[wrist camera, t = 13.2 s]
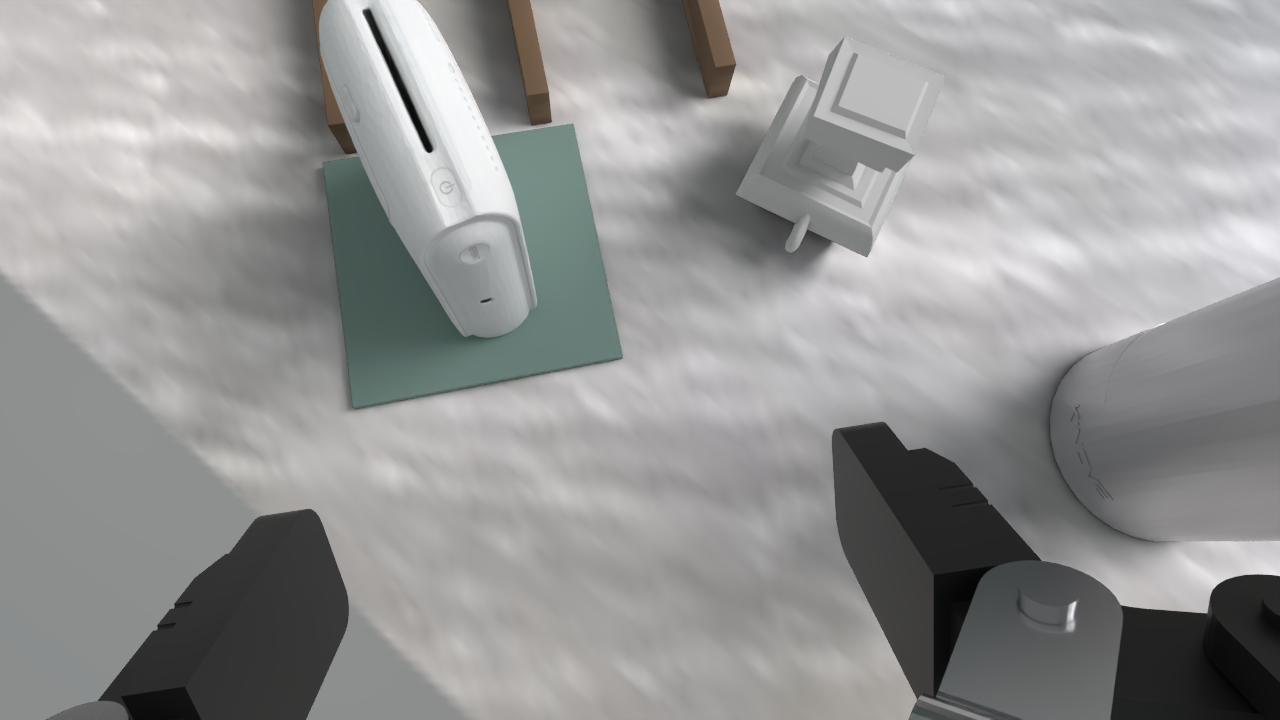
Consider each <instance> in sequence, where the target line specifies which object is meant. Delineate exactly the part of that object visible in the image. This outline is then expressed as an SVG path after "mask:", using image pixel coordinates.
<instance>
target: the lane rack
mask: <svg viewBox="0 0 1280 720" xmlns="http://www.w3.org/2000/svg"><path fill="white" fill-rule="evenodd" d="M327 1H328V0H312V3H313V11H314V19H315V27H316V35H317V43H318V51H319V59H320V67H321V74H322V82H323V90H324V98H325V106H326V114H327V122H328V126H329V128H330V129H331V131H332V133H333V134H334V136H335V137H336V139H337V141H338V142H339V144H340V145H341V147H342V149H343V150H344V152H345V153H346V154H348V153H355V152H357V151H356V148H355V146H354V144H353V141H352V139H351V136H350V134H349V131H348V129H347V127H346V124H345V122H344V119H343V117H342V114H341V112H340V109H339V107H338V104H337V101H336V99H335V96H334V94H333V91H332V88H331V85H330V82H329V79H328V76H327V73H326V70H325V67H324V64H323V60H322V57H321V52H320V38H319V20H320V15H321V12H322V10H323V7H324V5H325V4H326V3H327ZM682 1H683V5H684V8H685V12H686V16H687V20H688V24H689V28H690V31H691V35H692V39H693V43H694V47H695V50H696V54H697V58H698V62H699V66H700V70H701V73H702V77H703V81H704V85H705V89H706V93H707V96H708V98H712V97H718V96H725V95H727V93H728V90H729V87H730V83H731V80H732V76H733V73H734V69H735V66H736V62H735V59H734V55H733V51H732V48H731V44H730V40H729V37H728V33H727V30H726V26H725V22H724V19H723V15H722V11H721V8H720V4H719V0H682ZM507 3H508V8H509V13H510V18H511V23H512V28H513V33H514V38H515V44H516V49H517V54H518V59H519V64H520V69H521V74H522V79H523V84H524V89H525V94H526V99H527V104H528V109H529V114H530V119H531V125H537V124H543V123H550V122H552V120H551V110H550V100H549V91H548V86H547V82H546V77H545V72H544V67H543V62H542V57H541V52H540V48H539V43H538V38H537V33H536V28H535V23H534V18H533V13H532V9H531V4H530V0H507Z"/></svg>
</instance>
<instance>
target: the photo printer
mask: <svg viewBox="0 0 1280 720" xmlns="http://www.w3.org/2000/svg"><path fill="white" fill-rule="evenodd" d="M319 38H320V52H321V57H322V60H323V64H324V67H325V70H326V73H327V76H328V79H329V82H330V85H331V88H332V91H333V94H334V96H335V99H336V101H337V104H338V107H339V109H340V112H341V114H342V117H343V119H344V122H345V124H346V127H347V129H348V131H349V134H350V136H351V139H352V141H353V144H354V146H355V148H356V151H357V153H358V155H359V157H360V159H361V162H362V164H363V166H364V169H365V171H366V173H367V175H368V177H369V180H370V182H371V184H372V186H373V188H374V190H375V193H376V195H377V197H378V199H379V201H380V203H381V205H382V207H383V209H384V210H385V212H386V214H387V216H388V218H389V222H390V223H391V225H392V226H393V227H394V228H395V230H396V232H397V234H398V235H399V237H400V239H401V240H402V242H403V244H404V245H405V247H406V248H407V250H408V252H409V253H410V255H411V256H412V258H413V260H414V261H415V263H416V264H417V266H418V268H419V269H420V271H421V273H422V274H423V276H424V278H425V279H426V281H427V282H428V284H429V285H430V287H431V289H432V290H433V292H434V293H435V295H436V297H437V298H438V300H439V302H440V303H441V305H442V307H443V308H444V310H445V312H446V313H447V315H448V316H449V318H450V320H451V321H452V323H453V324H454V325H455V327H456V328H457V329H458V331H459V332H460V333H461V334H462V335H463V336H464V337H467V336H470V335H475V336H478V337H485V338H492V337H498V336H502V335H505V334H507V333H509V332H511V331H513V330H515V329H516V328H517V327H519V326H520V325H521V324H522V323H523V321H524V320H525V319H526V318H527V316H528V314H529V311H530V310H533V309H535V308H536V306H537V297H536V292H535V286H534V281H533V276H532V271H531V266H530V262H529V257H528V252H527V248H526V243H525V239H524V234H523V230H522V225H521V221H520V216H519V212H518V208H517V204H516V200H515V196H514V193H513V190H512V187H511V184H510V181H509V179H508V176H507V173H506V171H505V168H504V166H503V163H502V161H501V159H500V156H499V154H498V151H497V149H496V146H495V144H494V142H493V139H492V137H491V135H490V132H489V130H488V128H487V126H486V124H485V121H484V119H483V117H482V115H481V112H480V110H479V108H478V106H477V104H476V102H475V100H474V97H473V95H472V93H471V91H470V89H469V87H468V85H467V83H466V81H465V79H464V77H463V75H462V73H461V71H460V69H459V67H458V65H457V63H456V61H455V59H454V57H453V55H452V53H451V51H450V49H449V47H448V45H447V44H446V42H445V40H444V38H443V37H442V35H441V33H440V31H439V29H438V28H437V26H436V24H435V23H434V21H433V20H432V18H431V17H430V15H429V14H428V13H427V11H426V10H425V9H424V8H423V7H422V6H421V4H420V3H419V2H418V1H417V0H328V1H327V3H326V4H325V5H324V7H323V10H322V12H321V15H320V20H319Z"/></svg>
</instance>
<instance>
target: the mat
mask: <svg viewBox="0 0 1280 720" xmlns="http://www.w3.org/2000/svg"><path fill="white" fill-rule="evenodd" d="M491 137H492V139H493V142H494V144H495V146H496V149H497V151H498V154H499V156H500V159H501V161H502V163H503V166H504V168H505V171H506V173H507V176H508V179H509V181H510V184H511V187H512V190H513V193H514V196H515V200H516V204H517V208H518V212H519V216H520V221H521V225H522V230H523V234H524V239H525V243H526V248H527V252H528V257H529V262H530V266H531V271H532V276H533V281H534V286H535V292H536V297H537V306H536V308H535V309H533V310H530V311H529V314H528V316H527V318H526V319H525V320H524V321H523V323H522V324H521V325H520V326H519V327H517V328H516V329H515V330H513V331H511V332H509V333H507V334H505V335H502V336H498V337H492V338H485V337H478V336H475V335H470V336H467V337H464V336H463V335H462V334H461V333H460V332H459V331H458V329H457V328H456V327H455V325H454V324H453V323H452V321H451V320H450V318H449V316H448V315H447V313H446V312H445V310H444V308H443V307H442V305H441V303H440V302H439V300H438V298H437V297H436V295H435V293H434V292H433V290H432V289H431V287H430V285H429V284H428V282H427V281H426V279H425V278H424V276H423V274H422V273H421V271H420V269H419V268H418V266H417V264H416V263H415V261H414V260H413V258H412V256H411V255H410V253H409V252H408V250H407V248H406V247H405V245H404V244H403V242H402V240H401V239H400V237H399V235H398V234H397V232H396V230H395V228H394V227H393V226H392V225H391V223H390V222H389V218H388V216H387V214H386V212H385V210H384V209H383V207H382V205H381V203H380V201H379V199H378V197H377V195H376V193H375V190H374V188H373V186H372V184H371V182H370V180H369V177H368V175H367V173H366V171H365V169H364V166H363V164H362V162H361V159H360V157H353V158H347V159H341V160H334V161H328V162H323V168H324V176H325V184H326V192H327V201H328V209H329V217H330V225H331V233H332V241H333V249H334V258H335V266H336V274H337V282H338V290H339V298H340V306H341V315H342V323H343V331H344V339H345V347H346V355H347V364H348V372H349V380H350V388H351V396H352V404H353V408H355V409H359V408H365V407H370V406H375V405H380V404H386V403H391V402H396V401H401V400H407V399H412V398H417V397H422V396H428V395H433V394H438V393H443V392H449V391H454V390H459V389H464V388H470V387H475V386H480V385H486V384H491V383H496V382H501V381H507V380H512V379H517V378H522V377H528V376H533V375H538V374H543V373H549V372H554V371H559V370H564V369H570V368H575V367H580V366H585V365H591V364H596V363H601V362H606V361H612V360H617V359H622V357H623V356H622V351H621V346H620V341H619V337H618V332H617V327H616V323H615V318H614V313H613V308H612V304H611V299H610V294H609V290H608V285H607V280H606V275H605V271H604V266H603V261H602V257H601V252H600V247H599V242H598V238H597V233H596V228H595V224H594V219H593V214H592V209H591V205H590V200H589V195H588V191H587V186H586V181H585V176H584V172H583V167H582V162H581V158H580V153H579V148H578V143H577V139H576V134H575V129H574V125H573V124H567V125H560V126H554V127H547V128H541V129H534V130H528V131H522V132H515V133H509V134H502V135H496V136H491Z"/></svg>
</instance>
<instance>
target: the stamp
mask: <svg viewBox="0 0 1280 720" xmlns="http://www.w3.org/2000/svg"><path fill="white" fill-rule="evenodd" d="M945 77H946V76H943V75H941V74H938V73H936V72H933V71H931V70H928V69H926V68H923V67H921V66H918V65H916V64H913V63H911V62H908V61H906V60H903V59H901V58H898V57H896V56H893V55H891V54H888V53H886V52H884V51H881V50H879V49H876V48H874V47H871V46H869V45H866V44H864V43H861V42H859V41H856V40H854V39H851V38H849V37H846V36H845V37H844V38H843V39H842V40H841V42H840V43H839V44H838V45H837V46H836V47H835V49H834V50H833V51H832V52H831V53H830V54H829V56H828V60H827V63H826V66H825V69H824V72H823V75H822V78H821V81H820V84H819V83H817V82H815V81H813V80H811V79H808V78H806V77H804V76H802V75H801V76H799V77H797V78H796V79H795V81H794V82H793V83H792V85H791V87H790V89H789V91H788V93H787V95H786V97H785V99H784V101H783V103H782V105H781V106H780V108H779V110H778V112H777V114H776V116H775V118H774V120H773V122H772V124H771V126H770V128H769V130H768V132H767V134H766V136H765V138H764V140H763V142H762V144H761V145H760V147H759V149H758V151H757V153H756V155H755V157H754V159H753V161H752V163H751V165H750V167H749V169H748V171H747V173H746V175H745V177H744V179H743V181H742V183H741V184H740V186H739V188H738V190H737V192H736V195H738V196H740V197H742V198H743V199H745V200H747V201H750V202H752V203H754V204H756V205H758V206H760V207H762V208H764V209H766V210H768V211H770V212H772V213H775V214H777V215H779V216H781V217H783V218H785V219H787V220H789V221H791V222H793V223H795V224H794V227H793V230H792V232H791V234H790V236H789V238H788V239H787V241H786V244H785V249H786V251H788V252H790V253H791V252H794V251H796V250H797V248H798V247H799V246H800V243H801V241H802V239H803V237H804V235H805V233H806V231H807V229H808V230H810V231H812V232H814V233H816V234H818V235H820V236H822V237H825V238H827V239H829V240H831V241H833V242H835V243H837V244H839V245H841V246H843V247H845V248H848V249H850V250H852V251H854V252H856V253H858V254H861V255H863V256H865V257H868V254H869V253H870V251H871V249H872V247H873V245H874V242H875V240H876V238H877V236H878V233H879V231H880V229H881V227H882V224H883V222H884V220H885V218H886V215H887V213H888V211H889V209H890V207H891V204H892V202H893V200H894V198H895V195H896V193H897V191H898V189H899V186H900V184H901V182H902V180H903V177H904V175H905V173H906V171H907V169H908V166H909V164H910V162H911V160H912V157H913V156H914V155H915V153H916V151H917V148H918V146H919V143H920V141H921V138H922V136H923V133H924V130H925V128H926V125H927V123H928V120H929V118H930V115H931V113H932V110H933V108H934V105H935V102H936V100H937V97H938V95H939V92H940V90H941V87H942V85H943V82H944V79H945Z"/></svg>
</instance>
